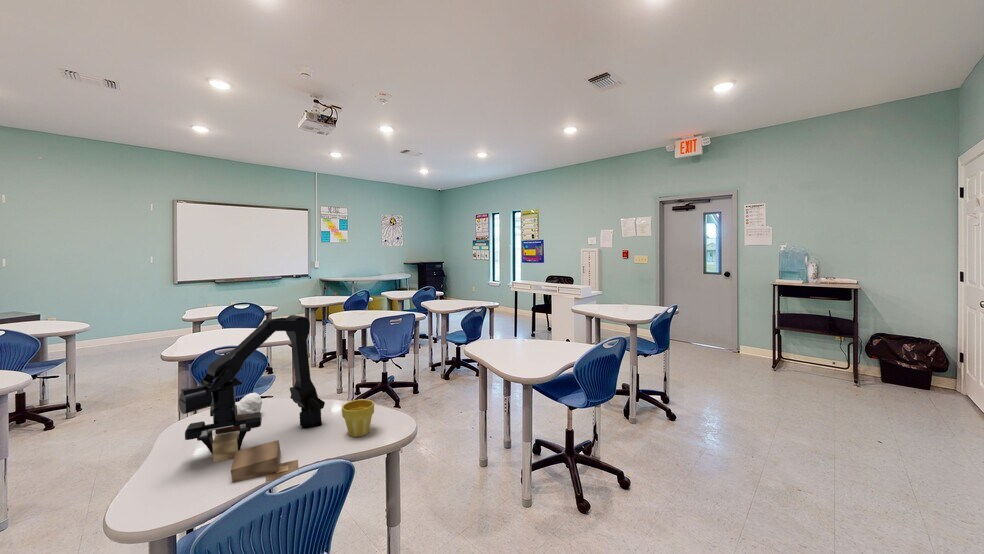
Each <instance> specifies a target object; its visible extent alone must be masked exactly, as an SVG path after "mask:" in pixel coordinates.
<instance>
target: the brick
mask: <svg viewBox="0 0 984 554" xmlns="http://www.w3.org/2000/svg"><path fill="white" fill-rule="evenodd" d="M247 414H250V413H246V414H239V415H238V417H237V418H236V420H237V419H243V418H246V416H247ZM239 430H240V426H235V427H230V428H224V429H218V430H215V434H216V435H221V434H226V433H232V432H237V431H239Z"/></svg>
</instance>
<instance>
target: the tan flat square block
mask: <svg viewBox="0 0 984 554" xmlns="http://www.w3.org/2000/svg"><path fill="white" fill-rule="evenodd" d="M281 456H282V455H281V446H280V440H279V439H277V440H274V441H269V442H266V443H263V444H259V445H255V446H250V447H248V448H244V449H240V450H239V451H236V454H235V457H234V458H233V460H232V465H231V467H230V475H231V479H232V483H237V482H241V481H246V480H251V479H256V478H259V477H263V476H266V474H269V473H273V472H276V471H279V466H280V463H281Z"/></svg>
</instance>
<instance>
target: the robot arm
mask: <svg viewBox="0 0 984 554" xmlns="http://www.w3.org/2000/svg"><path fill="white" fill-rule="evenodd" d="M275 332H285V333H286V335H287V337H288V339H289V341H290V343H291V353H292V360H293V369H294V378H295V383H294V385H293V386H291V387H289V392H290V397H289V398H290V399H291V400H292V401H293V402H294V403H295V404H297V406H298V408H300V409H301V410H300V412H299V426H300V427H301V429H302V430H306V429H307V430H308V429H313V428H316V427H322V426H323V423H322V409H324V407H325V404H326V402H325V401H324V400H322V399H321V398H319V396H318V392H317V388H316V387H315V385H314V383H313V382H312V380H311V379H312V378H311V371H310V360H309V351H308V342H307V341H308V338H309V335H310V332H311V321H310V320H309V319H308V318H307V317H305V316H301V315H296V314H291V315H289V316H287V317H278V318H277V317H275V318H269V317H268V318H266V319H264V320H263V322H262V323H261V324H260V325H259V326H257V327H256V328H255V329H254V330H253V331H252V332H251V333H250V334H249V335H248V336H247V337H245V338H244V339H243V340H242V341H241V342H240V343H239V344H238V345H237V346H236V347H235V348H234V349H232V350H230V351H229V352H227V353H224V354H223V355H220V357H218V358H216V359H215V360H213V361H212V362H211V363H210V364H209V365H208V367H207V372H206V373H205V375H204V376H203V377H202V379H201V380H200V382H199V385H196V386H193V387H185V388H181V390H180V395H179V397H178V406H179V410H180V413H181V414H182V415H186V414H189V413H192V412H196V411H200V410H203V409H207V408H209V406H210V410H209V413H210V414H209V416H210V417H212V418H213V420H212V423H210V424H209V423H208V424H206V423H205V421H198V422H191V423H189V424H188V426H187V427H186V429H185V431H184V440H185V441H189V440H195V439H196V441H198V442H199V441H201V442H202V443H203V444H204V445H205V446H206V448H207V449H208V451H209V452H210V453H211V455H212V456H213V448H212V444H213V441H214V438H213V431H216V430H218V429H224V428H230V427H235V426H240V430H239V439H238V451H239V450H241V448H242V445H243V442H244V441H243V440H244V438H245V436H246V434H247V433H249V432H251V430H252V429H256V428H260V427H262V420H263V418H262V417H263V416H262V413H261V411H260V412H256V413H250V414H247V416H246V418H243V419H237V420H236V418H237V417H238V414H237V403H236V391H235V389H236V387H237V386H241V385H243V381H241V380H239V379H238V378H237V377H236V376H237V375H238V373H239V372H240V371H241V370H242V367H244V363H245V362H246V360H247V359H248V358H249V357H250V356H251V355H252V354H253V353H254V352H255V351H257V349H259V348H260V347H261V346H262V345H263V344H264V343H265V342H266V341H267V340H268V339H269V338H270V337H271V336H273V334H275Z"/></svg>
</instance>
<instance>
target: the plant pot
mask: <svg viewBox="0 0 984 554" xmlns="http://www.w3.org/2000/svg"><path fill="white" fill-rule="evenodd" d="M374 413H375V402H374V401H373V400H371V399H361V398H360V399H354V400H350V401H348V402H345V403H343V404H342V406H341V416H342V418H343V419H344V420H345V421H344V422H345V425H346V428H347V432H348V435H349V436H350V437H355V438H357V437H358V436H359V437H362V436H363V437H364V436H366V435H368V433H370V428H371V424H372V423H371V422H372V418H373V415H374ZM365 434H366V435H365Z"/></svg>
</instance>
